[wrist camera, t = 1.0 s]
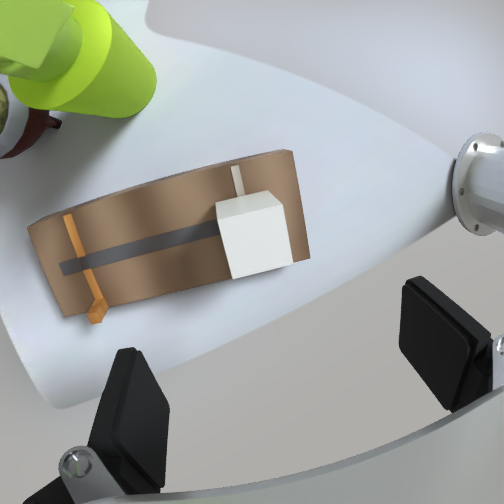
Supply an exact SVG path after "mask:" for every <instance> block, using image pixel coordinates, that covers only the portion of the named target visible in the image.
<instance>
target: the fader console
mask: <svg viewBox="0 0 504 504" xmlns="http://www.w3.org/2000/svg"><path fill="white" fill-rule="evenodd" d="M266 190H268V191H269V192H270V193H271V194H272V195H273V196H274V197H275V198H276V199H278V200H279V201H280V202H281V203H282V204H283V209H284V214H285V220H286V225H287V231H288V236H289V242H290V247H291V253H292V259H293V263H294V262H298V261H302V260H306V259H310V252H309V246H308V239H307V233H306V226H305V220H304V214H303V208H302V202H301V196H300V190H299V185H298V179H297V174H296V168H295V163H294V158H293V152H292V151H290V150H285V149H282V150H276V151H272V152H267V153H262V154H257V155H252V156H248V157H243V158H239V159H235V160H230V161H226V162H222V163H218V164H213V165H209V166H205V167H201V168H198V169H194V170H190V171H186V172H182V173H179V174H175V175H171V176H168V177H164V178H161V179H157V180H154V181H150V182H147V183H144V184H140V185H137V186H134V187H130V188H127V189H124V190H121V191H118V192H115V193H111V194H108V195H105V196H102V197H99V198H96V199H93V200H91V201H88V202H85V203H82V204H79V205H76V206H73V207H71V208H68V209H65V210H62V211H60V212H57V213H54V214H52V215H49V216H47V217H44V218H42V219H40V220H38V221H37V222H35V223H33V224H32V225H30V226H29V227H27V229H28V232H29V235H30V237H31V240H32V243H33V245H34V248H35V251H36V253H37V256H38V258H39V261H40V263H41V266H42V268H43V270H44V273H45V275H46V277H47V280H48V282H49V284H50V287H51V289H52V291H53V293H54V295H55V297H56V300H57V302H58V304H59V306H60V308H61V310H62V312H63V314H64V316H65V317H67V316H71V315H76V314H80V313H85V312H88V313H87V314H86V315H87V317H88V319H89V321H90V323H91V325H92V324H96V323H101V322H102V320H103V318H104V316H105V314H106V312H107V310H108V308H109V307H112V306H116V305H121V304H125V303H129V302H134V301H138V300H142V299H147V298H151V297H155V296H160V295H164V294H168V293H172V292H177V291H181V290H185V289H189V288H193V287H198V286H202V285H206V284H210V283H214V282H218V281H222V280H226V279H230V278H232V275H231V271H230V267H229V263H228V260H227V256H226V252H225V248H224V244H223V240H222V237H221V233H220V229H219V225H218V221H217V213H216V202H220V201H224V200H228V199H232V198H236V197H241V196H245V195H249V194H253V193H258V192H262V191H266Z"/></svg>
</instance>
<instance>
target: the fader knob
mask: <svg viewBox="0 0 504 504" xmlns="http://www.w3.org/2000/svg"><path fill="white" fill-rule="evenodd" d="M216 213H217V221H218V225H219V229H220V233H221V237H222V240H223V244H224V248H225V252H226V256H227V260H228V263H229V267H230V271H231V275H232V279H236V278H240V277H244V276H248V275H252V274H256V273H260V272H264V271H268V270H272V269H276V268H280V267H284V266H288V265H292V264H293V259H292V253H291V247H290V242H289V236H288V231H287V225H286V220H285V214H284V209H283V204H282V203H281V202H280V201H279V200H278V199H276V198H275V197H274V196H273V195H272V194H271V193H270V192H269V191H268V190H266V191H262V192H258V193H253V194H249V195H245V196H241V197H236V198H232V199H228V200H224V201H220V202H216Z"/></svg>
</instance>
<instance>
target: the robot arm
mask: <svg viewBox="0 0 504 504" xmlns="http://www.w3.org/2000/svg"><path fill="white" fill-rule="evenodd" d="M452 196H453V204H454V208H455V212H456V215H457V217H458V219H459V221H460V223H461V224H462V225H463V227H464V228H465V229H467V230H468V231H469V232H472V233H473V234H476V235H479V236H486V235H489V234H491V233H493V232H495V231H496V230H497V231H499V232H501V233H503V234H504V139H503V138H502V137H500V136H499V135H497V134H495V133H491V132H480V133H477V134H475V135H473V136H472V137H471V138H469V139H468V141H467V142H466V143H465V144H464V146H463V147H462V149H461V151H460V153H459V155H458V158H457V161H456V164H455V168H454V172H453V181H452ZM490 337H491V333H490V332H489V331H488V330H486V329H485V328H484V327H483V326H482V325H481V324H480V323H479V322H477V321H476V320H475V319H474V318H473V317H472V316H470V315H469V314H468V313H467V312H466V311H465V310H463V309H462V308H461V307H460V306H459V305H457V304H456V303H455V302H454V301H453V300H451V299H450V298H449V297H448V296H446V295H445V294H444V293H443V292H442V291H440V290H439V289H438V288H436V287H435V286H434V285H433V284H431V283H430V282H429V281H428V280H426V279H425V278H424V277H422V276H417V277H414V278H411V279H408V280H407V281H406V283H405V285H404V286H403V287H402V304H401V320H400V333H399V348H400V350H401V352H402V353H403V354H404V356H405V357H406V358H407V360H408V361H409V362H410V364H411V365H412V366H413V367H414V369H415V370H416V371H417V373H418V374H419V375H420V377H421V378H422V379H423V381H424V382H425V383H426V384H427V386H428V387H429V389H430V390H431V391H432V393H433V394H434V395H435V397H436V398H437V399H438V401H439V402H440V403H441V405H442V406H443V407H444V409H446V410H450V411H451V413H452V414H450V415H448V416H446V417H444V418H442V419H440V420H438V421H437V422H434V423H432V424H430V425H428V426H426V427H424V428H422V429H420V430H418V431H416V432H414V433H411V434H409V435H407V436H405V437H403V438H400V439H398V440H395V441H393V442H391V443H388V444H386V445H383V446H380V447H378V448H375V449H373V450H370V451H368V452H365V453H362V454H359V455H356V456H353V457H351V458H348V459H345V460H342V461H339V462H335V463H332V464H329V465H326V466H322V467H319V468H315V469H311V470H308V471H304V472H300V473H296V474H292V475H288V476H283V477H279V478H274V479H270V480H265V481H260V482H254V483H249V484H243V485H237V486H230V487H223V488H216V489H207V490H197V491H187V492H175V493H160V488H163V487H164V485H165V472H166V455H167V439H168V425H169V413H170V408H169V404H168V401H167V399H166V398H165V396H164V394H163V392H162V390H161V388H160V387H159V385H158V383H157V381H156V379H155V377H154V375H153V373H152V371H151V370H150V368H149V366H148V364H147V362H146V360H145V358H144V356H143V354H142V352H141V351H140V350H138V351H137V350H136V349H135V348H134V347H131V348H125V349H119V350H118V351H117V354H116V356H115V359H114V362H113V365H112V368H111V371H110V374H109V377H108V380H107V383H106V386H105V389H104V391H103V393H102V396H101V400H100V403H99V406H98V409H97V413H96V416H95V419H94V423H93V426H92V430H91V433H90V437H89V441H88V444H87V446H77V447H73V448H71V449H69V450H68V451H67V452H66V453H64V455H63V456H62V458H61V459H60V462H59V469H58V470H59V473H60V476H59V477H58V478H56V479H55V480H54V481H52V482H51V483H49V484H48V485H46V486H45V487H43V488H42V489H41V490H39V491H38V492H36V493H35V494H33V495H32V496H30V497H29V498H27V499H26V500H25V501H24V502H23V504H504V334H502V335H499V336H498V337H496V338H495V340H492V339H491V338H490Z"/></svg>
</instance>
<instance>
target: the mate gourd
mask: <svg viewBox="0 0 504 504" xmlns="http://www.w3.org/2000/svg"><path fill="white" fill-rule="evenodd" d="M61 124H62V121H61V120H59V119H57V118H54V117H51V116H49V110H43V109H35V108H31V107H28V106H26V105H24V104H23V103H21V102H20V101H19V100H18V99H17V98H16V97H15V95H14V94H13V92H12V90H11V88H10V85H9V81H8V75H3V74H0V159H4V158H11V157H14V156H17V155H18V154H20V153H21V152H23V151H25V150H26V149H28V148H29V147H31V146H32V145H33V144H34V143H35V142H36V140H37V139H38V138H39V137H40V136H41V134H42V133H43V132H44V130H45V129H47V128H50V127H52V128H56V129H59V128H60V126H61Z"/></svg>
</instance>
